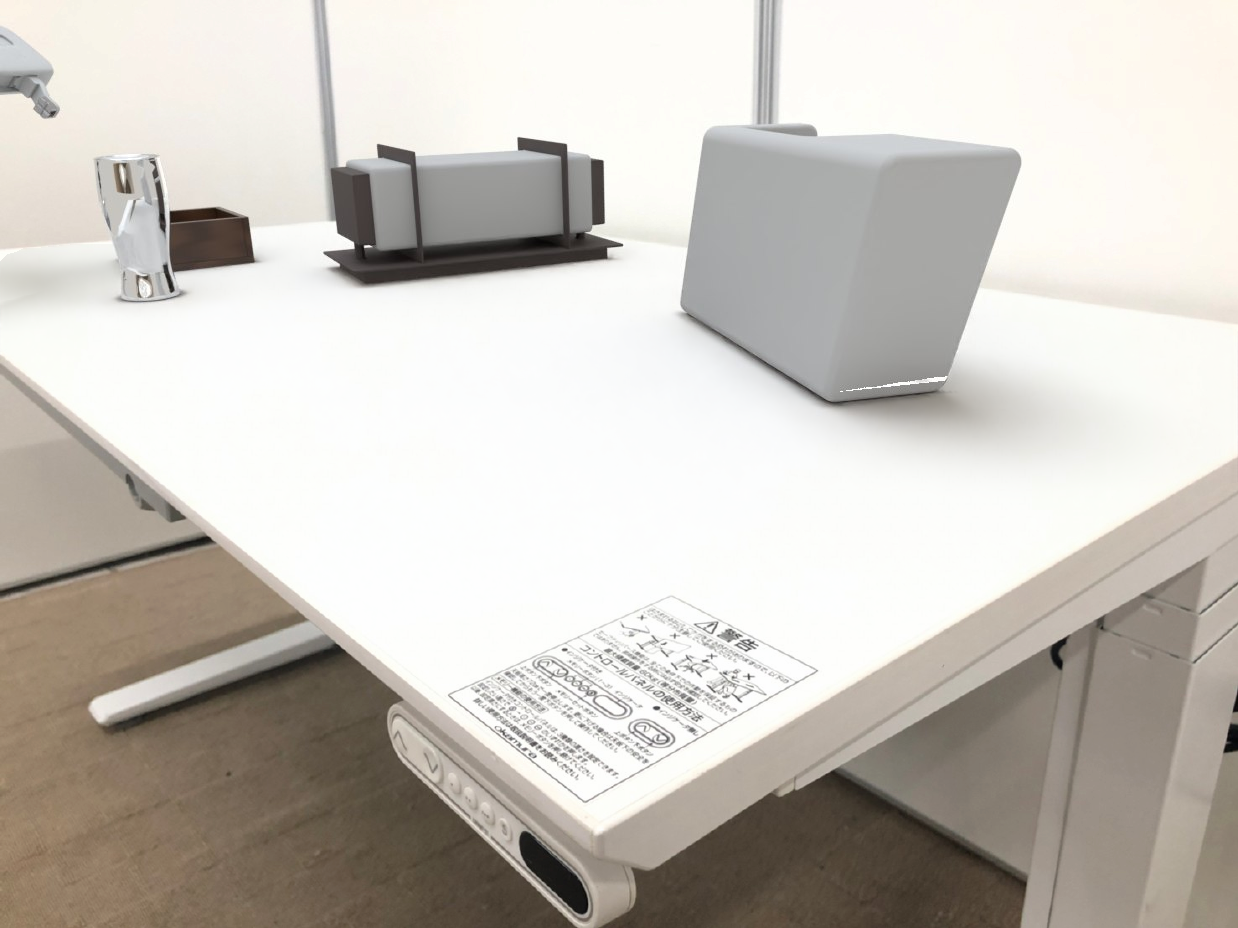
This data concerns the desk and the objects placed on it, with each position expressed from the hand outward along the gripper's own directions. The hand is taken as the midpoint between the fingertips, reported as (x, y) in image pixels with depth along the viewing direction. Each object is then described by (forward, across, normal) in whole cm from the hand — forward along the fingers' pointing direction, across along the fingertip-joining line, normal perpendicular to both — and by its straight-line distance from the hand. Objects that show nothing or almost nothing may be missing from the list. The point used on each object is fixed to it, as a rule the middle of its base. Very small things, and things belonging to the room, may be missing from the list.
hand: (23, 116), depth 113 cm
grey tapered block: (+74, +16, +45) cm, 88 cm away
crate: (+16, -21, -12) cm, 29 cm away
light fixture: (+44, -23, +15) cm, 52 cm away
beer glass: (+22, 0, -6) cm, 22 cm away
